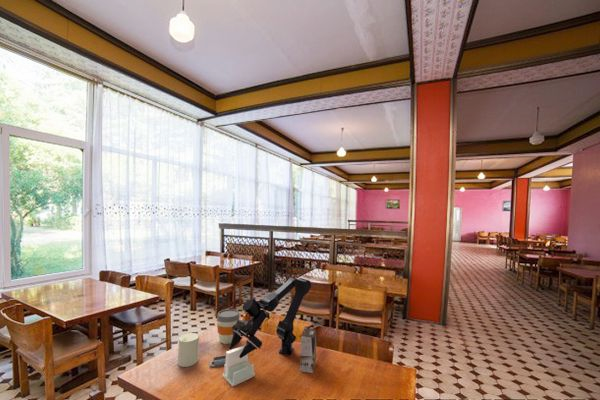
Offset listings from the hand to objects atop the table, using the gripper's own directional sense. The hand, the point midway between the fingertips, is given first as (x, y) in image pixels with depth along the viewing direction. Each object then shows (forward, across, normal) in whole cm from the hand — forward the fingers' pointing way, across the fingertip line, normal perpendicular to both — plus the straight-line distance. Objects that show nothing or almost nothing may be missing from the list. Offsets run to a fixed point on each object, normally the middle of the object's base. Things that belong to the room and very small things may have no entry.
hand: (234, 353), depth 117 cm
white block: (+5, 0, +7) cm, 9 cm away
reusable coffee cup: (-2, -31, +16) cm, 35 cm away
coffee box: (-14, +17, +28) cm, 36 cm away
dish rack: (+6, +2, +8) cm, 10 cm away
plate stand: (+6, -12, +8) cm, 15 cm away
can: (+15, -24, -1) cm, 28 cm away
